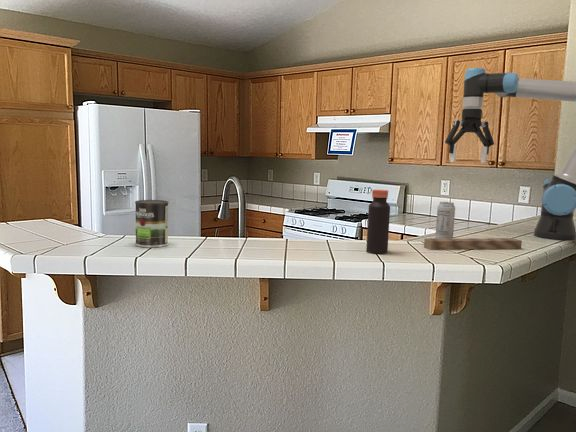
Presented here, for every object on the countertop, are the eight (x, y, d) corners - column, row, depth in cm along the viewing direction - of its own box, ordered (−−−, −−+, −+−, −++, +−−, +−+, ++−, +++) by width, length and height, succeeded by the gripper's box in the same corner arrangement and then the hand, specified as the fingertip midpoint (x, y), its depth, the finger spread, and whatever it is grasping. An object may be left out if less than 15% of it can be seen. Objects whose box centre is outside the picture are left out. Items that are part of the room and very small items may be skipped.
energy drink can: (456, 244, 183) (459, 203, 181) (444, 246, 179) (448, 203, 177) (442, 242, 188) (445, 201, 186) (431, 243, 184) (434, 201, 182)
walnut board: (512, 246, 184) (512, 237, 183) (521, 249, 179) (521, 240, 178) (423, 247, 177) (424, 238, 176) (430, 250, 172) (431, 240, 171)
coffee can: (156, 249, 159) (156, 203, 158) (128, 245, 163) (128, 201, 161) (174, 243, 169) (174, 201, 167) (148, 240, 173) (147, 198, 171)
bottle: (365, 249, 169) (368, 189, 166) (385, 250, 169) (389, 189, 166) (367, 253, 162) (370, 190, 160) (389, 254, 162) (392, 191, 159)
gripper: (495, 110, 210) (490, 162, 213) (438, 107, 205) (435, 161, 208) (506, 109, 203) (501, 163, 206) (448, 106, 198) (444, 161, 201)
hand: (468, 162), depth 207 cm, fingers open, 13 cm apart
